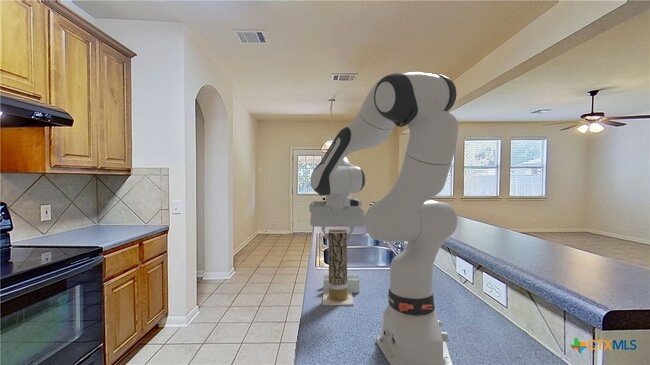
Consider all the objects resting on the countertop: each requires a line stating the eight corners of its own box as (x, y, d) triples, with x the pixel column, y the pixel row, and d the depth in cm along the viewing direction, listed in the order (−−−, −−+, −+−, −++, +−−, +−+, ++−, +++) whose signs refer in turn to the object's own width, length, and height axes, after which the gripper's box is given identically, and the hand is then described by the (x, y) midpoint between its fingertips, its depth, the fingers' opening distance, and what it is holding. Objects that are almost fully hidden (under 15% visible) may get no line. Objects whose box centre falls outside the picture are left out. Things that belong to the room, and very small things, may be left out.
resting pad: (353, 305, 112) (353, 303, 112) (322, 305, 113) (322, 303, 113) (351, 293, 123) (351, 292, 123) (323, 293, 124) (323, 291, 124)
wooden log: (340, 302, 113) (340, 232, 112) (325, 298, 117) (324, 230, 116) (350, 296, 119) (350, 229, 118) (335, 292, 123) (335, 228, 122)
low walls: (359, 292, 124) (359, 280, 124) (323, 292, 125) (323, 279, 125) (358, 286, 131) (358, 274, 131) (324, 286, 131) (324, 274, 131)
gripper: (308, 201, 114) (308, 240, 115) (365, 201, 114) (365, 240, 114) (309, 200, 120) (310, 236, 121) (364, 200, 120) (364, 236, 120)
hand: (337, 238), depth 117 cm, fingers open, 7 cm apart
